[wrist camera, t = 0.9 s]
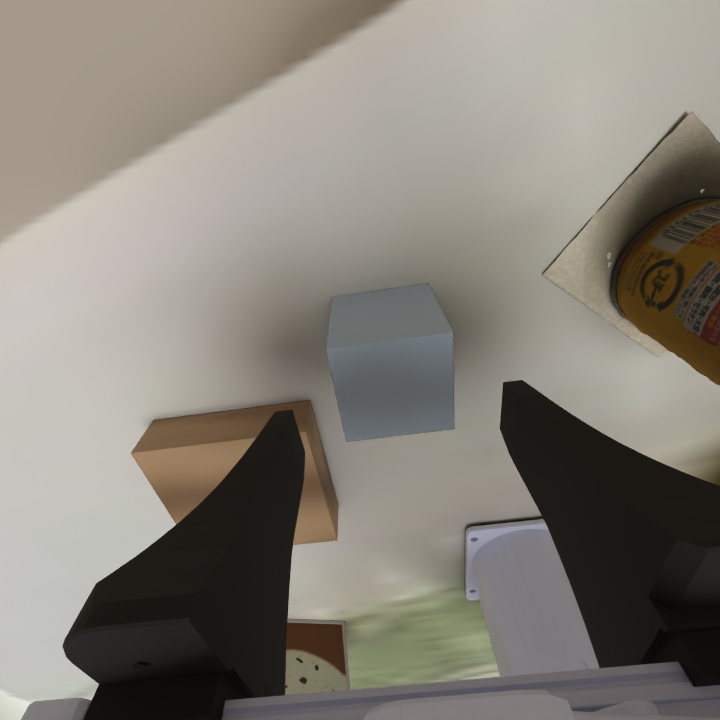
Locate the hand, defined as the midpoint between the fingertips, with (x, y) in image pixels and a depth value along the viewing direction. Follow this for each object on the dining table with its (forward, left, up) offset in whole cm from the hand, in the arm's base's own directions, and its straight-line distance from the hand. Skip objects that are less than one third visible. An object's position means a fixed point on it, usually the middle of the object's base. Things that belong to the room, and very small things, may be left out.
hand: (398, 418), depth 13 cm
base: (-8, +9, -7) cm, 14 cm away
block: (0, 0, -7) cm, 7 cm away
